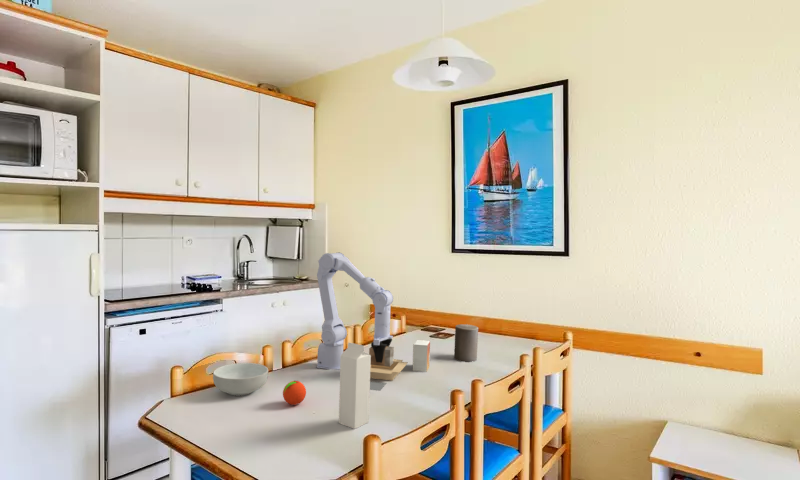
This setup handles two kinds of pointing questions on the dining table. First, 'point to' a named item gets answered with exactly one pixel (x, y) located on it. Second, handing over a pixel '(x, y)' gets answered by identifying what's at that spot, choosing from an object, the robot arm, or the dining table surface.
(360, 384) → the milk
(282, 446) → the dining table surface
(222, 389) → the cereal bowl
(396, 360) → the tan shallow tray
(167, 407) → the dining table surface
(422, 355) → the small box
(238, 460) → the dining table surface
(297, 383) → the clementine
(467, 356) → the pillar candle
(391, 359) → the block
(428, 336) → the dining table surface
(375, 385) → the mat
